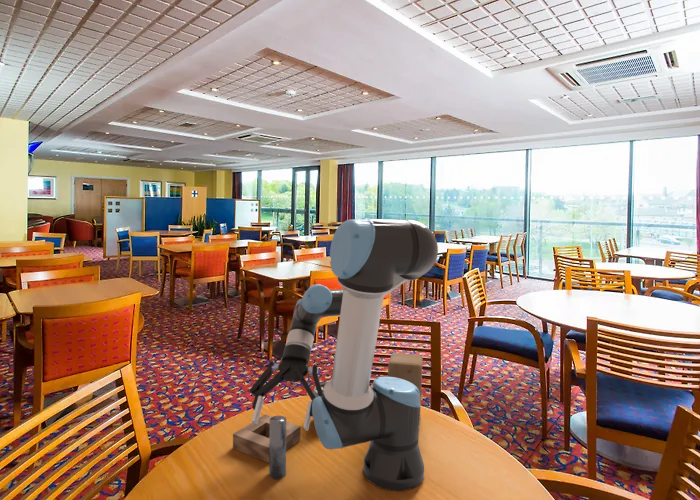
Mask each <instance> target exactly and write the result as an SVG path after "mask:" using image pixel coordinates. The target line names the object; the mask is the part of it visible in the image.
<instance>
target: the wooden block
mask: <svg viewBox="0 0 700 500" xmlns="http://www.w3.org/2000/svg"><path fill="white" fill-rule="evenodd" d="M423 359H424V358H423V356H422V355H420V354H412V353H411V354H410V353H402V352H401V353H400V352H392V353H391V355H390V358H389V361H388V364H387V365H388V366H387V368H388V369H387V377H396V378H400V379H403V380H406V381H409V382H411V383H412V384H414V385H415V386H416V387H417V388H418V390H419V392H420V404H422V403H421V402H422V382H423V379H422V378H423ZM421 406H422V405H421ZM421 406H420V410H421V408H422V407H421ZM420 419H421V411H420V412H419V424H420V422H421V420H420Z"/></svg>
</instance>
